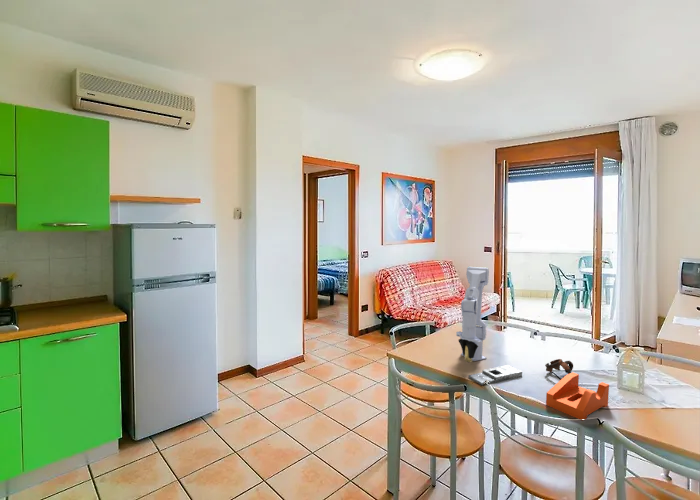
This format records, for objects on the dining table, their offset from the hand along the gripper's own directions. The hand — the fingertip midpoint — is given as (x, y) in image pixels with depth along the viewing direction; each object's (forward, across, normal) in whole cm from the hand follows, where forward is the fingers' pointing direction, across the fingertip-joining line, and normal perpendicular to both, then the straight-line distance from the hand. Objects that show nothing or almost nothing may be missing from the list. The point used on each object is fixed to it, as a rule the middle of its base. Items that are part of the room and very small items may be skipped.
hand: (468, 356), depth 166 cm
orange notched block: (+7, +39, +16) cm, 43 cm away
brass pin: (+2, 0, 0) cm, 2 cm away
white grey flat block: (+7, +9, +7) cm, 13 cm away
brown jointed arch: (+7, +20, +33) cm, 39 cm away
